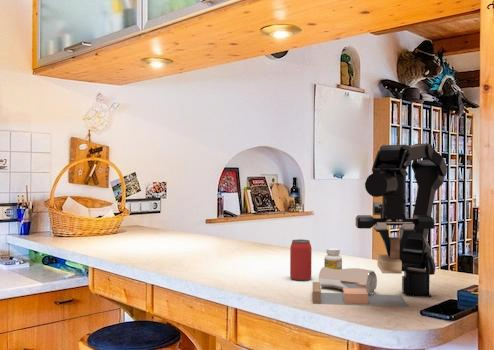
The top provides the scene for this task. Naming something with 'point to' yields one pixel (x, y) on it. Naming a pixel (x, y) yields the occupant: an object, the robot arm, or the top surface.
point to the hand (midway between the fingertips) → (394, 255)
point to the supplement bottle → (333, 259)
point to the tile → (355, 295)
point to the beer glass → (348, 279)
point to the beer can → (300, 260)
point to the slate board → (338, 300)
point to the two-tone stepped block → (391, 258)
